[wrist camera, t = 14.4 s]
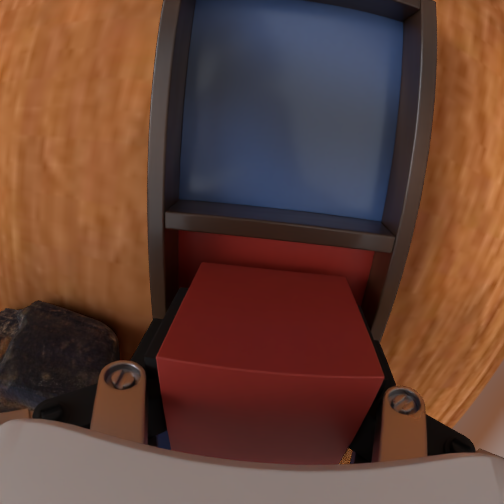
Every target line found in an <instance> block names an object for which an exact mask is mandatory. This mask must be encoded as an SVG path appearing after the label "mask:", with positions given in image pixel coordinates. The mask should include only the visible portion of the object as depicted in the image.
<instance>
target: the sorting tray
mask: <svg viewBox="0 0 504 504" xmlns="http://www.w3.org/2000/svg"><path fill="white" fill-rule="evenodd" d="M436 66H437V16H436V2H435V1H433V0H163V5H162V11H161V17H160V24H159V31H158V38H157V46H156V54H155V63H154V72H153V82H152V94H151V107H150V122H149V142H148V177H147V218H148V253H149V274H150V290H151V303H152V315H153V319H154V318H159V319H163V318H164V316H165V314H166V312H167V311H168V309H169V307H170V305H171V303H172V301H173V299H174V297H175V296H176V294H177V292H178V290H179V288H180V287H184V288H189V287H190V285H191V283H192V281H193V279H194V277H195V275H196V273H197V271H198V269H199V267H200V265H201V263H202V262H207V263H216V264H225V265H234V266H243V267H253V268H262V269H272V270H281V271H291V272H301V273H311V274H321V275H331V276H341V277H346V279H347V282H348V284H349V287H350V289H351V291H352V294H353V296H354V298H355V301H356V303H357V305H359V306H360V307H361V309H362V311H363V314H364V316H365V319H366V321H367V323H368V326H369V328H370V331H371V333H372V336H373V338H374V340H377V341H379V343H380V341H381V338H382V335H383V333H384V330H385V327H386V324H387V321H388V318H389V315H390V312H391V309H392V306H393V303H394V300H395V297H396V294H397V291H398V287H399V284H400V281H401V277H402V274H403V270H404V267H405V263H406V259H407V256H408V252H409V248H410V244H411V240H412V236H413V232H414V227H415V223H416V219H417V214H418V209H419V205H420V200H421V195H422V189H423V184H424V178H425V173H426V167H427V160H428V154H429V146H430V139H431V131H432V122H433V112H434V101H435V87H436Z"/></svg>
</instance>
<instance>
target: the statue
mask: <svg viewBox="0 0 504 504" xmlns="http://www.w3.org/2000/svg"><path fill="white" fill-rule="evenodd" d="M115 361H120V356H119V341H118V338H117V336H116V334H115V333H114V331H113V330H111V329H110V328H109V327H108V326H106V325H105V324H104V323H102V322H100V321H98V320H95V319H92V318H90V317H86V316H83V315H81V314H78V313H76V312H73V311H70V310H68V309H65V308H62V307H59V306H55V305H52V304H49V303H46V302H42V301H39V300H38V301H35V302H34V303H32V304H31V305H30V306H28V307H26V308H24V309H20V310H14V309H9V308H5V310H3V311H1V312H0V413H3V412H10V411H16V410H21V409H27V408H28V409H29V411H30V412H31V411H34V409H35V408H36V406H37V405H38V404H39V403H41V402H42V401H44V400H46V399H49V398H53V397H56V396H59V395H62V394H66V393H69V392H72V391H75V390H78V389H81V388H84V387H87V386H90V385H93V384H96V383H98V380H99V375H100V373H101V370H102V369H103V368H104V367H105V366H106V365H108V364H110V363H112V362H115Z"/></svg>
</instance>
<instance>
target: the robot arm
mask: <svg viewBox="0 0 504 504" xmlns="http://www.w3.org/2000/svg"><path fill="white" fill-rule="evenodd" d="M188 289H189V288H184V287H180V288H179V290H178V292H177V294H176V296H175V297H174V299H173V301H172V303H171V305H170V307H169V309H168V311H167V312H166V314H165V316H164V318H163V319H159V318H154V319H153V321H152V322H151V324H150V326H149V328H148V329H147V331H146V333H145V335H144V337H143V338H142V340H141V342H140V344H139V346H138V347H137V349H136V351H135V353H134V355H133V356H132V358H131V360H130V361H128V360H120V361H115V362H112V363H110V364H108V365H106V366H105V367H104V368H103V369H102V370H101V373H100V375H99V380H98V383H96V384H93V385H90V386H87V387H84V388H81V389H78V390H75V391H72V392H69V393H66V394H62V395H59V396H56V397H53V398H49V399H46V400H44V401H42V402H41V403H39V404H38V405H37V406H36V408H35V409H34V411H31V412H30V411H29V409H28V408H27V409H21V410H16V411H10V412H3V413H0V504H504V458H502V457H500V456H497V455H495V454H492V453H490V452H487V451H485V450H482V449H478V450H477V451H475V447H474V445H473V443H472V442H471V441H470V439H468V438H467V437H465V436H464V435H462V434H460V433H458V432H456V431H455V430H453V429H451V428H449V427H448V426H446V425H444V424H442V423H440V422H439V421H437V420H435V419H433V418H432V417H430V416H428V415H426V413H425V403H424V400H423V398H422V396H421V395H420V394H419V393H418V392H417V391H415V390H414V389H412V388H410V387H406V386H396V384H395V381H394V378H393V376H392V373H391V371H390V368H389V365H388V363H387V360H386V358H385V355H384V353H383V350H382V348H381V345H380V343H379V341H377V340H374V338H373V336H372V333H371V331H370V328H369V326H368V323H367V321H366V319H365V316H364V314H363V311H362V309H361V307H360V306H359V305H357V306H358V308H359V311H360V313H361V316H362V318H363V321H364V323H365V326H366V328H367V331H368V333H369V336H370V339H371V341H372V344H373V347H374V349H375V352H376V355H377V357H378V360H379V363H380V365H381V368H382V371H383V374H384V380H383V382H382V384H381V387H380V389H379V391H378V393H377V395H376V397H375V399H374V401H373V403H372V405H371V407H370V409H369V411H368V413H367V415H366V417H365V418H364V420H363V422H362V424H361V426H360V428H359V430H358V431H357V433H356V435H355V437H354V439H353V440H352V442H351V444H350V446H349V447H348V448H350V449H351V450H353V452H352V456H351V461H350V464H337V465H295V464H273V463H258V462H247V461H237V460H229V459H221V458H214V457H207V456H200V455H194V454H188V453H183V452H178V451H172V450H168V449H163V448H158V435H159V434H161V433H163V432H165V431H167V426H166V420H165V414H164V408H163V402H162V396H161V389H160V383H159V376H158V368H157V360H156V356H157V354H158V352H159V350H160V348H161V345H162V343H163V341H164V339H165V337H166V335H167V333H168V331H169V328H170V326H171V324H172V322H173V320H174V318H175V316H176V314H177V312H178V310H179V308H180V306H181V303H182V301H183V299H184V297H185V295H186V293H187V291H188Z"/></svg>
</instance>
